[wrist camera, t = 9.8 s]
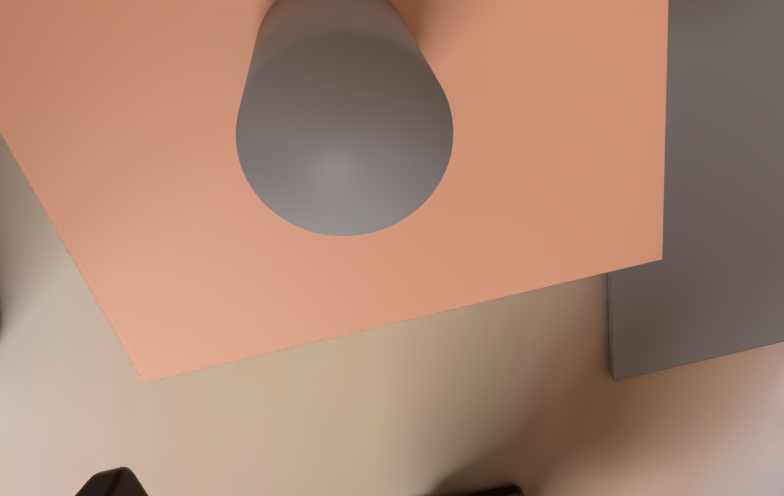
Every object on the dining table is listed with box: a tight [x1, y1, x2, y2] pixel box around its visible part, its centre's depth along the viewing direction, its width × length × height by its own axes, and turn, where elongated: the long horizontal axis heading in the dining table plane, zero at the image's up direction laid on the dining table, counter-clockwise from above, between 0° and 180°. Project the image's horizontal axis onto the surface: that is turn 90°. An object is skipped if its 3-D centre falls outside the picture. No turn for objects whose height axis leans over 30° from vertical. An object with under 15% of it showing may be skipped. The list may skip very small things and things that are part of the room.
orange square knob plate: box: [0, 0, 668, 383], centre depth 11 cm, size 13×13×5 cm
